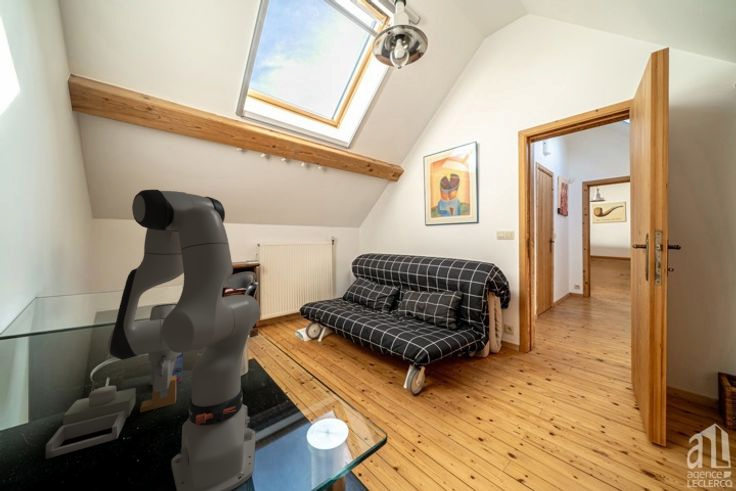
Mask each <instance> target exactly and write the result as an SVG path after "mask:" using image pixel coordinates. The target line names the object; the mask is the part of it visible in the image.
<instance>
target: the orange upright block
mask: <svg viewBox="0 0 736 491" xmlns="http://www.w3.org/2000/svg"><path fill="white" fill-rule="evenodd" d="M176 401H177V384H176V375H174V376H171V380H170V384H169V388H168V389H167V396H166V397H163V398H160V392H154V382H153V385H152V398H151V399H147V400H144V401H143V400H142V402H141V406H140V408H139V411H140V413H144V412H148V411H151V410H155V409H159V408H163V407H167V406H171V405H175V404H176Z"/></svg>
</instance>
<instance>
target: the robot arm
mask: <svg viewBox="0 0 736 491" xmlns="http://www.w3.org/2000/svg"><path fill="white" fill-rule="evenodd" d="M131 207H132V208H131V211H132V216H133V219H134V221H135V222H136V223H137V224H138V225H139V226H141V227H142V228H146V232H145V237H144V246H143V247H144V248H143V249H144V250H143V258H142V261H141V262H140V264H139V265H138V266H137V267H136V268H135V269H134V268H133V269H132V270H130V272H129V274H128V275H127V277H126V282H125V285H124V287H123V292H122V294H121V295H122V296H121V300H120V303H119V308H118V310H117V311H118V312H117V316H116V320H115V324H114V327H113V329H112V331H111V334H110V335H109V339H108V343H107V348H108V351H109V355H111V356H112V357H114V358H116V359H119V360H122V361H124V360H128V359H132V358H136V357H138V356H143V355H147V354H148V355H147V356H148V361H149V362H151V361H152V362H153V364H154V365H156V367H155V372H154V392H160V398H163V397H166V396H167V389H168V388H169V384H170V380H171V376H172V372H173V368H174V365H175V360H176V359H177V357H178V356H179V355H180V354H181V353H182V352H183V353H186V352H187V353H188V352H194V351H199V350H201V349H204V348H205V350H204V352H203V354H202V355H201V356H200V357H199V359H198V360H197V361H196V362H195V364H194V366H193V368H192V370H191V371H192V372H191V398H190V400H189V405H188V418H187V420H186V421H185V422H184V423H183V424H182V429H181V448H180V450H179V453H177V454H176V455H175V456H174V457H173V458H172V459H171V464H170V466H171V471H172V475H173V480H174V484H175V488H176V491H232V490H234V489H236V488H238V487H239V486H241V485H243V484H244V483H245V482H246V481H248V480H249V479H250V478H251V477H253V475H254V470H255V469H254V468H255V467H254V466H255V453H256V452H255V451H256V450H255V449H256V440H257V439H256V431H255V430H253V429H251V428H250V427H248V424H249V423H250V422H251V417H250V416H248V406H247V405H245V404H243V397H244V394H243V387H242V386H241V381H242V379H241V375H242V374H241V373H242V362H243V360H242V359H243V355H244V350H245V347H246V344H247V342H248V339H249V335H250V333H252V330H253V327H254V326H255V325H256V324H257V322H258V321H259V319H260V316H261V309H260V308H261V306H260V304H259V303H258V301H257V299H256V298H254V297H253V296H251V295H249V294H231V295H227V296H223V290H224V285H225V283H226V281H228V279H229V278H231V277H232V275H233V272H234V267H233V261H232V254H231V250H230V244H229V239H228V236H227V232H226V227H225V224H224V221H225V217H226V211H225V208H224V206H223V203H221V201H219V200H218V199H215V198H214V197H210V196H201V195H198V194H192V193H187V192H184V191H177V190H176V191H174V190H173V191H172V190H159V189H143V190H140V191H139V192H138V193H137V194H136V195H135V196H134V197H133V200H132V205H131ZM182 275H183V285H182V291H181V294H180V296H179V299H178V301H177V303H166V304H165V303H164V304H157V305H154V306H152V308H151V309H150V310H151V311H150V316H149V320H145V321H136V320H135V318H136V313H137V310H138V306H139V302H140V298H141V297H142V295H143V294H144V293H145V292H147V291H149V290H150V289H152V288H155V287H157V286H160V285H163V284H166V283H168V282H171V281H173V280H175V279H177V278H179V277H180V276H182Z"/></svg>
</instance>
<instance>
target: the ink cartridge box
mask: <svg viewBox="0 0 736 491" xmlns="http://www.w3.org/2000/svg"><path fill="white" fill-rule="evenodd" d="M183 365H184V352H182V353H181V354H180V355H179V356H178V357H177V359H176V360H175V365H174V368H173V372H172V376H174V375H176V385H177V384H179V382H180V383H181V381H182V382H183V378H184V377H183V375H184V372H183V370H184V367H183ZM155 367H156V365H154V364H153V362H152V361H150V380H149V381H150V383H149V385H151V386H153V382H154V372H155Z"/></svg>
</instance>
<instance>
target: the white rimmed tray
mask: <svg viewBox="0 0 736 491" xmlns="http://www.w3.org/2000/svg"><path fill="white" fill-rule="evenodd" d="M136 392H137V389H136V387H133V388H127V389H123V390H118V391H117V385H106V386H102V387H98V388H96V389H94V390H92V391H91V392H89V393H88V397H85V398H81V399H80V398H79V399H76V400H75V402H73V403H72V405H71V406H70V407H69V409H68V410H67V411H66V412H65V413H64V414H63V417H62V418H63V421H62V422H63V423H62V424H63V425H61V426H60V427H59V428H58V429H57V431H56V432H55V433H54V434H53V435H52V437H51V438H50V439H49V441H47V443H46V444H45V459H46V460H47V459H50V458H54V457H57V456H61V455H64V454H68V453H72V452H75V451H79V450H83V449H86V448H90V447H93V446H96V445H99V444H104V443H106V442H111V441H114V440H117V439H118V438H119V435H120V433H121V431H122V429H123V427H124V425H125V423H126V420H127V418H129V417H130V416H131V414H132V412H133V409H134V407H135V405H136V398H137V397H136ZM107 429H111V432H110V433H107V434H103V435H99V436H95V437H92V438H88V439H84V440H80V441H78V442H74V443H69V444H67V445H62V444H63V443H64V442H65V441H66V440H70V439H74V438H77V437H78V438H79V437H81V436H85V435H90V434H92V433H97V432H100V431H103V430H107ZM61 445H62V446H61Z"/></svg>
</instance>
